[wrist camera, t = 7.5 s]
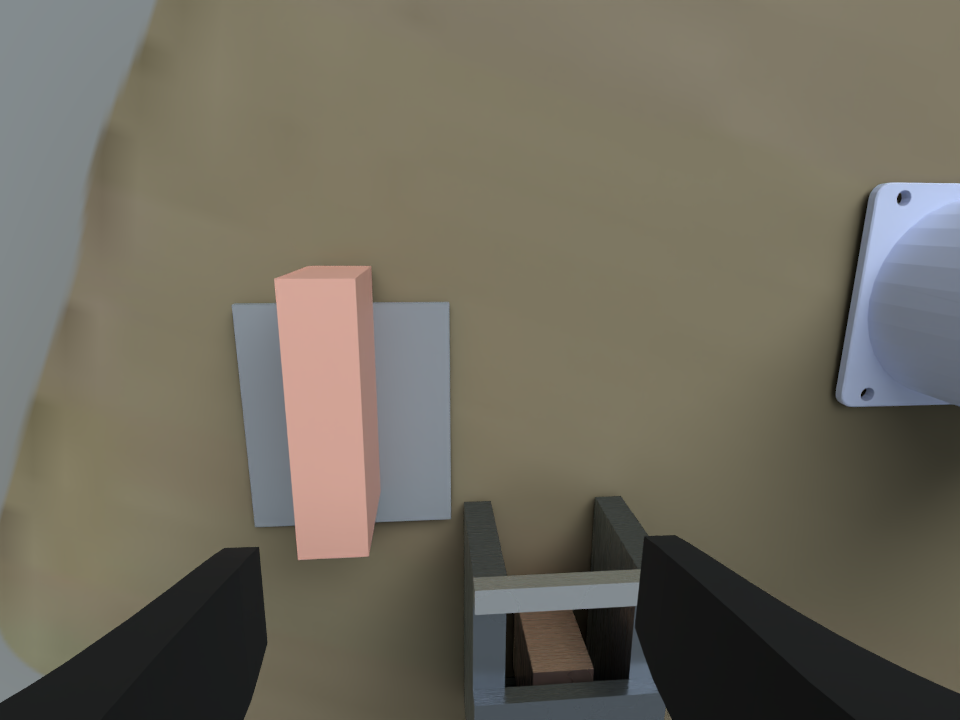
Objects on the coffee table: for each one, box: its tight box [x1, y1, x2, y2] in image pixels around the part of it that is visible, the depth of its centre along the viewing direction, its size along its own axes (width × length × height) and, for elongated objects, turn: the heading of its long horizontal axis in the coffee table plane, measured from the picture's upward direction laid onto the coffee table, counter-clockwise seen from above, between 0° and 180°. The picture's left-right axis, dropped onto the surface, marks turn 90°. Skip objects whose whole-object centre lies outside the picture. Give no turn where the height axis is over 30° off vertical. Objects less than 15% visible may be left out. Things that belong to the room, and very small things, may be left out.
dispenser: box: [464, 496, 666, 720], centre depth 19 cm, size 6×9×5 cm, turn 0°
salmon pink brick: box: [274, 266, 381, 560], centre depth 17 cm, size 2×8×4 cm, turn 0°
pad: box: [232, 302, 451, 527], centre depth 19 cm, size 7×8×1 cm
